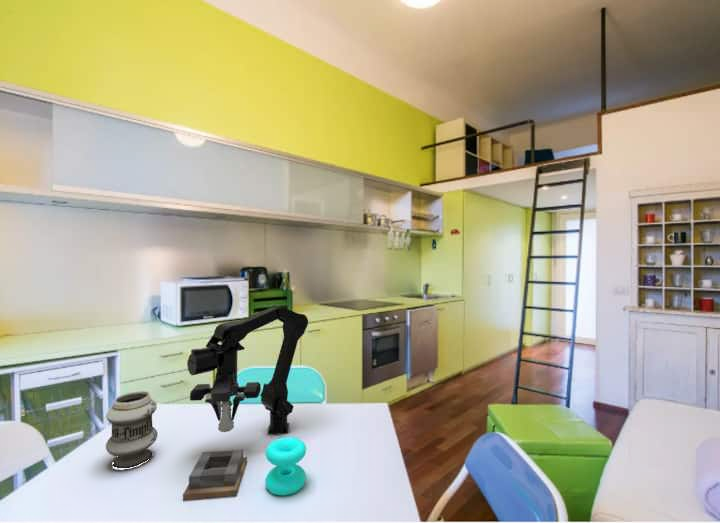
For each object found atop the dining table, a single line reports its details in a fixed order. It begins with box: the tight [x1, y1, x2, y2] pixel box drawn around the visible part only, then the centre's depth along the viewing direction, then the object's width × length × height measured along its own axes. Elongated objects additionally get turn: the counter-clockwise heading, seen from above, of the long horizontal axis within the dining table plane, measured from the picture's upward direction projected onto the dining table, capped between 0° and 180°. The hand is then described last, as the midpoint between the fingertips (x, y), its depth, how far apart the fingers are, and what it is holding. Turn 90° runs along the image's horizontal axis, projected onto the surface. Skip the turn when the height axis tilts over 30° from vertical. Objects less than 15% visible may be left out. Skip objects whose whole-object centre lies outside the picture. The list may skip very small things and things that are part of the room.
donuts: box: [264, 436, 307, 496], centre depth 86 cm, size 10×10×10 cm
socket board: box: [182, 449, 248, 502], centre depth 88 cm, size 14×12×4 cm
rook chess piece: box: [217, 399, 235, 433], centre depth 100 cm, size 4×4×8 cm
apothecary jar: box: [105, 390, 158, 468], centre depth 96 cm, size 12×12×18 cm
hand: (226, 420), depth 100 cm, fingers closed on rook chess piece, 3 cm apart
